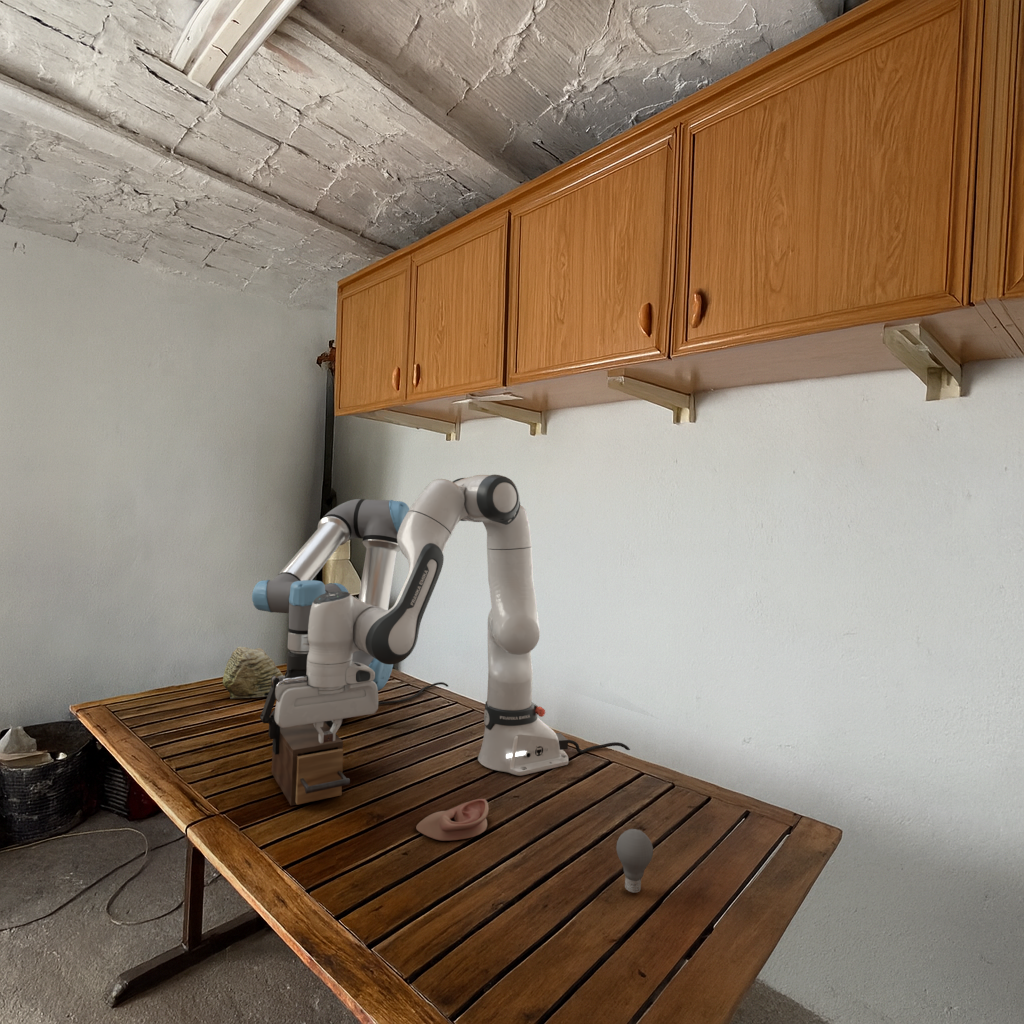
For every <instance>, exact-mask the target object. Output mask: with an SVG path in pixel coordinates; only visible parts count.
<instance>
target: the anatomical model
mask: <svg viewBox="0 0 1024 1024" xmlns="http://www.w3.org/2000/svg"><path fill="white" fill-rule="evenodd" d="M488 814H489V803H488V801H487V799H485V798H477V799H472V800H469V801H467V802H464V803H460V804H459V805H457V806H454V807H452V808H449V809H447V810H441V811H436V812H433V813H431V814H429V815H427V816H426V817H424V818H423V819H422V820H420V821H419V822H418V823H417V824H416V828H415V829H416V831H418V832H419V833H421V834H422V835H424V836H426V837H428V838H431V839H433V840H436V841H440V842H447V841H449V842H450V841H458V840H466V839H470V838H474V837H476V836H479V835H481V834H482V833H484V832H485V831H486V830H487V828H488V820H487V817H488Z"/></svg>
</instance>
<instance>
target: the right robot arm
mask: <svg viewBox="0 0 1024 1024" xmlns="http://www.w3.org/2000/svg"><path fill="white" fill-rule="evenodd" d="M459 522H472V523H482V524H483V526H484V528H485V530H486V531H485V532H486V557H487V560H486V561H487V579H488V587H489V595H490V605H491V608H490V610H489V612H488V616H487V669H488V670H487V695H486V701H485V705H484V711H483V712H484V713H483V714H484V715H483V723H484V732H483V737H482V742H481V747H480V750H479V753H478V756H477V761H478V762H479V764H481V766H483V767H485V768H488V769H490V770H492V771H493V770H494V771H497V772H504V773H508V774H511V775H514V776H519V777H520V776H526V775H529V774H535V773H538V772H542V771H543V772H544V771H547V770H551V769H556V768H560V767H564V766H567V765H569V761H570V760H569V756H568V754H567V753H566V751H565V750H568V749H569V744H572V745H574V747H575V750H576V752H577V753H578V754H585V753H588V752H590V751H594V750H599V749H605V748H610V747H621V748H623V749H625V750H626V751H631V749H630V747H629V746H628V745H627V744H625V743H623V742H616V741H615V742H614V741H612V742H607V743H603V744H597V745H592V746H589V747H585V748H584V749H580V745H579V743H578V742H577V741H575V740H573V739H569V738H567V737H565V735H563V733H561V732H555V731H554V730H553V729H552V728H551V727H550V726H549V725H548V724H546V723H545V722H544V721H543V720H541V719H540V718H543V717H545V715H546V709H545V708H543V707H542V706H538V705H537V703H535V702H532V700H533V699H532V698H533V678H534V677H533V676H534V672H533V670H534V669H533V664H532V663H533V661H532V651H534V649H535V648H536V646H537V645H538V643H539V641H540V636H541V635H540V634H541V630H540V629H541V628H540V621H539V613H538V612H539V611H538V604H537V603H538V602H537V596H536V590H535V589H536V588H535V583H534V582H535V581H534V569H533V568H534V567H533V547H532V533H531V526H530V521H529V517H528V512H527V511H526V508H525V507H524V506H522V505H521V500H520V493H519V490H518V488H517V486H516V484H515V482H514V481H513V480H512V479H510V478H509V477H508V476H505V475H500V474H475V475H473V476H469V477H460V478H457V479H455V480H452V481H451V480H449V479H445V478H437V479H436V478H435V479H434V480H431V481H430V482H429V483H428V484H427V485H426V486H425V487H424V488H423V489H422V491H421V492H420V493H419V494H418V496H417V497H416V499H415V500H414V501H413V503H412V504H411V506H410V507H409V511H408V513H407V514H406V516H405V518H404V519H403V521H402V523H401V525H400V528H399V531H398V534H397V542H398V546H399V548H400V552H401V553H402V555H403V556H404V557H405V558H406V560H407V562H408V573H407V575H406V578H405V580H404V583H403V585H402V587H401V589H400V592H399V594H398V595H397V598H396V600H395V602H394V604H393V606H392V607H390V608H388V610H385V609H383V608H380V607H377V606H374V605H370V604H367V603H365V602H362V601H360V600H358V599H359V598H356V597H355V596H353V595H352V594H351V593H350V592H349V591H348V592H349V593H348V592H344V591H338V592H329V593H325V594H322V595H320V596H318V597H317V598H316V599H315V600H314V601H313V603H312V606H311V610H310V616H309V624H308V641H309V653H308V656H307V672H306V676H300V677H295V678H285V679H283V681H281V682H279V683H278V684H277V686H276V688H275V698H276V700H275V702H276V703H275V707H274V709H275V716H274V719H275V722H276V723H277V724H278V725H279V726H280V727H281V728H286V727H293V726H299V725H305V724H312V723H313V725H314V727H315V728H316V730H317V731H318V733H319V738H318V739H319V742H320V743H326V742H332V741H335V735H337V734H336V733H338V731H339V729H340V727H341V726H342V723H343V722H342V719H343V720H345V719H349V718H356V717H363V716H371V715H374V714H376V713H377V711H378V710H379V705H378V702H379V691H378V689H377V685H376V683H375V682H373V680H374V679H375V672H374V671H373V670H372V669H371V668H370V667H368V666H366V665H364V664H362V663H357V662H352V657H353V653H354V652H355V651H362V652H364V653H367V654H369V655H371V656H372V657H374V658H375V659H377V660H378V661H380V662H382V663H384V664H393V665H395V664H399V663H401V662H403V661H405V660H406V659H407V658H408V657H409V656H410V655H411V654H412V653H413V651H414V649H415V647H416V645H417V642H418V639H419V633H420V628H421V627H420V626H421V622H422V620H423V617H424V614H425V612H426V609H427V607H428V605H429V602H430V599H431V598H432V595H433V593H434V590H435V588H436V585H437V582H438V580H439V577H440V575H441V573H442V569H443V566H444V559H445V558H444V557H445V556H444V553H445V550H446V547H447V545H448V543H449V541H450V539H451V536H452V535H453V533H454V531H455V529H456V527H457V525H458V524H459ZM281 683H284V684H281ZM538 716H539V717H540V718H539V717H538ZM331 720H332V722H333V725H332V727H331V729H330V731H324V732H323V731H322V729H321V728H320V727H323V722H325V721H331ZM341 722H342V723H341Z"/></svg>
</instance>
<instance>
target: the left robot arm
mask: <svg viewBox="0 0 1024 1024" xmlns="http://www.w3.org/2000/svg"><path fill="white" fill-rule="evenodd" d="M409 509H410V507H409V505H408V504H407V503H406V502H404V501H401V500H393V499H365V498H356V499H351V500H347V501H344V502H342V503H340V504H338V505H336V506H335V507H334V508H332V509H331V510H329V511H328V512H327V513H326V514H325V515H323V517H322V518H321V519H320V520H319V521H318V524H317V529H316V530H315V531H314V533H312V535H311V536H310V537H309V538H308V539H307V540H306V542H305V543H304V544H303V545H302V546H301V548H299V550H298V551H297V552H296V553H295V555H294V556H293V557H292V558H291V559H290V560H289V561H288V562H287V563H286V565H285V566H284V567H283V568H282V569H281V570H280V572H279V573H278V574H277V575H276V576H275V577H274V578H273V579H272V580H270V579H266V580H260V581H258V582H257V583H256V584H255V585H254V587H253V590H252V594H251V601H252V603H253V606H254V608H255V609H256V610H258V611H262V612H267V613H277V614H279V613H280V614H288V630H287V631H288V633H287V650H288V652H286V653H287V654H286V657H287V658H286V672H285V673H284V674H283V676H275V675H273V676H272V677H271V688H270V691H269V694H268V696H266V699H265V702H264V705H263V708H262V711H261V714H260V716H259V718H260V719H259V720H261V722H262V723H263V724H268V738H269V739H270V740H272V749H273V752H274V753H275V755H276V754H279V739H280V726H279V725H278V724H277V723H276V722H275V719H274V716H275V708H274V706H275V704H276V703H275V702H276V701H277V700H276V698H275V688H276V686H277V684H278V683H279V682H281V681H283V679H285V678H295V677H300V676H306V672H307V656H308V653H309V641H308V624H309V616H310V610H311V606H312V603H313V601H314V600H315V599H316V598H317V597H318V596H320V595H322V594H325V593H329V592H338V591H344V592H348V593H350V592H349V590H348V589H347V587H346V586H345V585H343V584H341V583H339V582H328V583H326V584H325V583H324V582H323V581H321V580H315V579H314V578H315V577H316V576H317V575H318V574H319V572H320V571H321V570H322V568H323V567H324V566H325V564H327V562H328V561H329V559H330V558H331V557H332V556H333V554H334V553H335V552H336V550H338V548H339V547H340V546H343V545H345V544H346V543H347V542H348V541H349V540H352V539H361V540H362V544H363V546H364V547H365V550H366V551H365V556H364V557H365V558H364V562H363V568H362V569H363V570H362V574H361V580H360V581H361V582H360V587H359V594H358V598H357V599H358V600H360V601H362V602H365V603H367V604H370V605H374V606H377V607H380V608H383V609H385V610H389V606H390V599H391V593H392V587H393V581H394V580H393V579H394V572H395V566H396V560H397V554H398V552H401V550H400V548H399V546H398V542H397V534H398V531H399V528H400V525H401V523H402V521H403V519H404V518H405V516H406V514H407V513H408V511H409ZM352 662H357V663H362V664H364V665H366V666H368V667H370V668H371V669H372V670H373V671H374V672H375V679H374V680H373V682H375V683H376V685H377V689H378V692H379V691H381V690H382V689H383V688H384V687H385V686H386V684H388V681H389V680H390V677H391V675H392V671H393V668H394V664H384V663H382V662H380V661H378V660H377V659H375V658H374V657H372V656H371V655H369V654H367V653H364V652H362V651H355V652H354V653H353V657H352ZM281 684H282V683H281ZM430 685H431V686H429V685H426V686H423V687H422V688H420V690H419V691H418V692H416V693H415V694H413V695H411V696H408V697H406V698H402V699H396V700H395V699H394V700H385V701H378V706H381V705H388V704H398V703H403V702H406V701H410V700H412V699H414V698H416V697H418V696H420V695H421V694H422V693H423V691H425V690H427V689H431V688H433V687H436V686H438V685H439V686H440V685H441V686H442V685H443V686H445V687H449V684H447V683H446V682H443V681H438V682H434V683H432V684H430ZM273 708H274V709H273ZM343 722H344V719H342V722H341V724H342V723H343ZM325 723H326V724H327V725H328V726H329V727H330V728H331V727H332V725H333V722H332V720H331V721H325Z"/></svg>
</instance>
